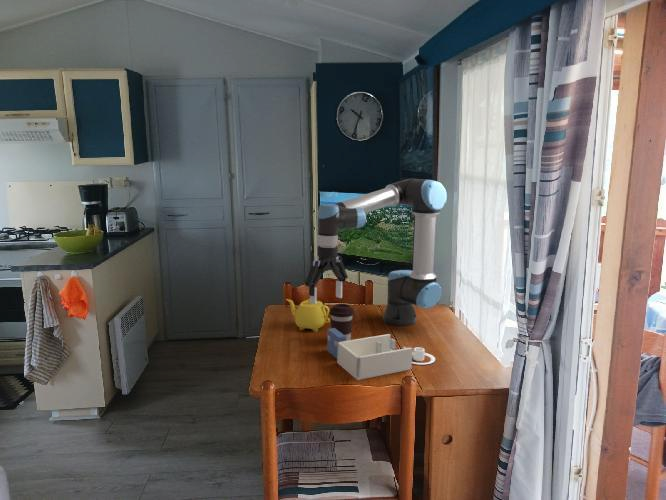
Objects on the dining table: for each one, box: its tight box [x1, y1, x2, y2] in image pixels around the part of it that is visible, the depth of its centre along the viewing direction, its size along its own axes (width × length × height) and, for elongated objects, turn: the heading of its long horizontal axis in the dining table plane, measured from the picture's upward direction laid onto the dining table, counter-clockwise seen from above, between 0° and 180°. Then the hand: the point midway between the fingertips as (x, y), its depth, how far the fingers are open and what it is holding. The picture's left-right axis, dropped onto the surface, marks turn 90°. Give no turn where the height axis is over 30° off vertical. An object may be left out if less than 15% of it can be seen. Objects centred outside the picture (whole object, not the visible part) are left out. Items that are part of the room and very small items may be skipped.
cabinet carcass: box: [336, 333, 413, 381], centre depth 199 cm, size 22×16×8 cm
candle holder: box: [412, 346, 436, 366], centre depth 207 cm, size 12×12×4 cm
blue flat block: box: [326, 327, 346, 360], centre depth 209 cm, size 3×10×9 cm, turn 25°
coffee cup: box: [329, 303, 355, 341], centre depth 222 cm, size 10×10×15 cm
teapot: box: [285, 298, 331, 333], centre depth 239 cm, size 14×20×13 cm
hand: (326, 300), depth 209 cm, fingers open, 13 cm apart
